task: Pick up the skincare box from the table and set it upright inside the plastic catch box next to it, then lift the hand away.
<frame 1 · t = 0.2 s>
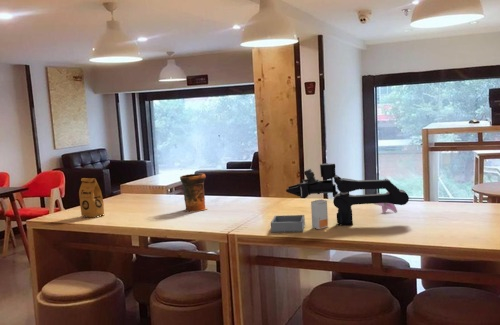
hand: (287, 189, 216), 17 cm above the table, tool horizontal, fingers open, 9 cm apart
catch box: (288, 228, 211), on the table
coffee package: (93, 216, 269), on the table
skincare box: (320, 227, 209), on the table
lily: (386, 211, 233), on the table
vessel: (195, 210, 269), on the table
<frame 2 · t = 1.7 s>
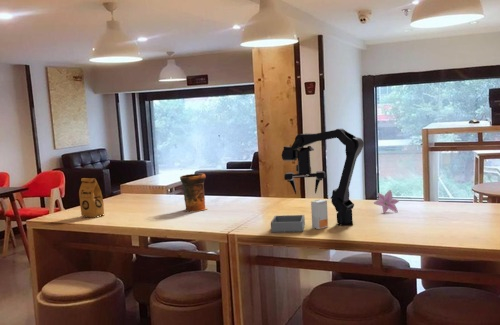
hand: (305, 193, 222), 13 cm above the table, tool pointing down, fingers open, 9 cm apart
nothing on the table moved.
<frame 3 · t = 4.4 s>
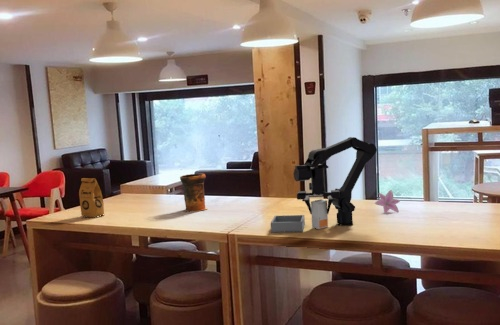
hand: (319, 214, 209), 6 cm above the table, tool pointing down, fingers closed on skincare box, 7 cm apart
skincare box: (320, 227, 209), on the table, touching gripper
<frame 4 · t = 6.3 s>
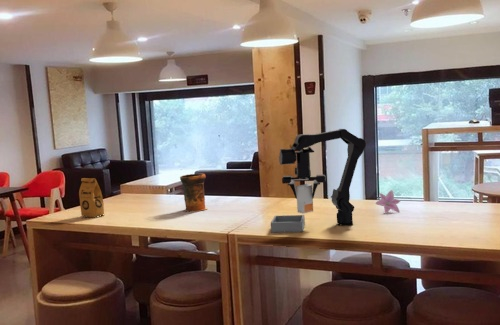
hand: (304, 198, 209), 13 cm above the table, tool pointing down, fingers closed on skincare box, 7 cm apart
skincare box: (305, 212, 209), point 7 cm above the table, touching gripper
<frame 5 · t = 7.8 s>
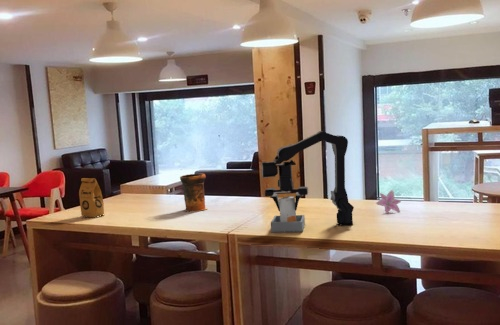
hand: (287, 210, 210), 8 cm above the table, tool pointing down, fingers closed on skincare box, 7 cm apart
skincare box: (288, 224, 211), point 2 cm above the table, touching gripper
when the fingers open (8 cm above the table, at t = 8.7 s): skincare box drops 1 cm, resting on catch box.
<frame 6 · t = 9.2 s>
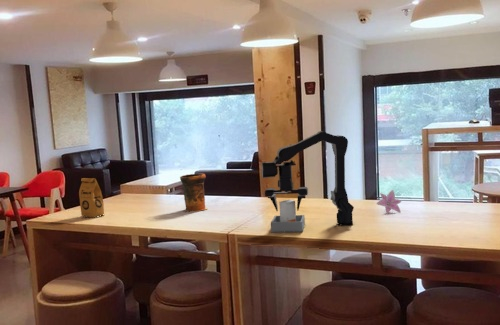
hand: (287, 210, 210), 8 cm above the table, tool pointing down, fingers open, 9 cm apart
skincare box: (288, 227, 211), resting on catch box
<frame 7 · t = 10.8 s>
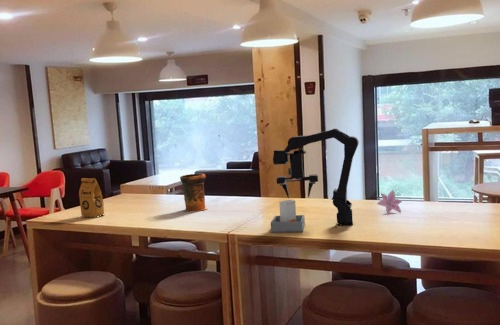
hand: (298, 197, 218), 12 cm above the table, tool pointing down, fingers open, 9 cm apart
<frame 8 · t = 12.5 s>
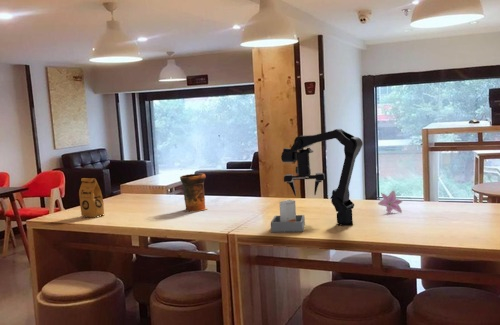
hand: (305, 195, 223), 12 cm above the table, tool pointing down, fingers open, 9 cm apart
at the end: skincare box inside the target area on the catch box (0.2 cm from its centre), point 0.3 cm above the catch box's base; skincare box tilted 0°; the gripper is holding nothing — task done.
